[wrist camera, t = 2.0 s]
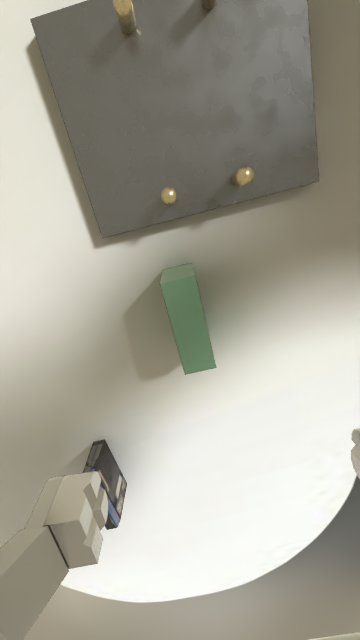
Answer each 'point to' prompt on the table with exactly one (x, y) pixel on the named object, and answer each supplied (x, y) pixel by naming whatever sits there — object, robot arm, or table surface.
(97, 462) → the mini dv tape
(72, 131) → the chassis plate
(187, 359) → the green block
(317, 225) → the table surface
